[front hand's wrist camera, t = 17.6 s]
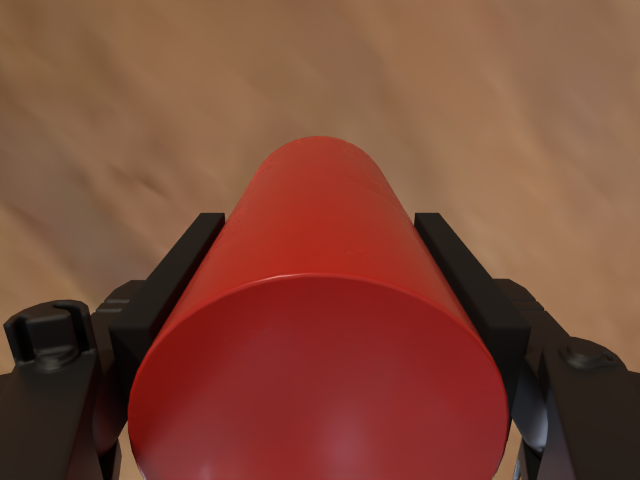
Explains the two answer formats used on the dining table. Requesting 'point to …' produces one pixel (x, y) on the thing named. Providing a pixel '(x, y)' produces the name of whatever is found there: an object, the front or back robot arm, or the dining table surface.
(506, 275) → the dining table surface
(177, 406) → the canister
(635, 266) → the dining table surface
